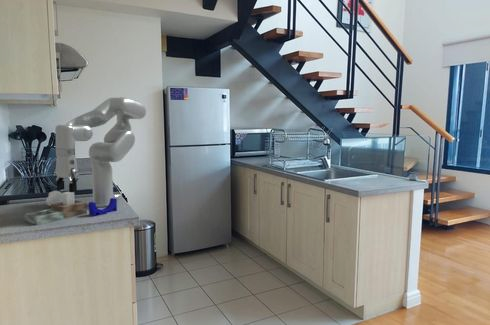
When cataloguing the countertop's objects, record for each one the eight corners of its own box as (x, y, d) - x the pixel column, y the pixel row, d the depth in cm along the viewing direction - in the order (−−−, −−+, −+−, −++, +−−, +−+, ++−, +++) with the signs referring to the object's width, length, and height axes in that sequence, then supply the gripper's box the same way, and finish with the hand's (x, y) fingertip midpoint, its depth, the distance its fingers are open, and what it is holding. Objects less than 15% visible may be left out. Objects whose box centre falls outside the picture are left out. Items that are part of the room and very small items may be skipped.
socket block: (74, 210, 164) (73, 199, 163) (86, 213, 159) (86, 202, 158) (24, 220, 145) (24, 209, 145) (37, 224, 140) (36, 212, 140)
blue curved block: (94, 216, 154) (93, 203, 153) (89, 215, 156) (88, 202, 156) (118, 211, 163) (118, 199, 162) (113, 210, 166) (113, 197, 165)
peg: (70, 212, 159) (69, 191, 158) (75, 214, 157) (74, 192, 156) (63, 214, 156) (61, 192, 155) (67, 215, 154) (66, 193, 153)
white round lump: (46, 205, 173) (45, 190, 172) (63, 203, 176) (63, 189, 175) (45, 208, 166) (44, 193, 165) (63, 207, 169) (62, 191, 168)
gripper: (85, 153, 152) (85, 191, 153) (63, 151, 161) (64, 187, 163) (68, 154, 145) (69, 194, 147) (46, 152, 155) (47, 189, 156)
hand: (66, 190), depth 155 cm, fingers open, 9 cm apart
